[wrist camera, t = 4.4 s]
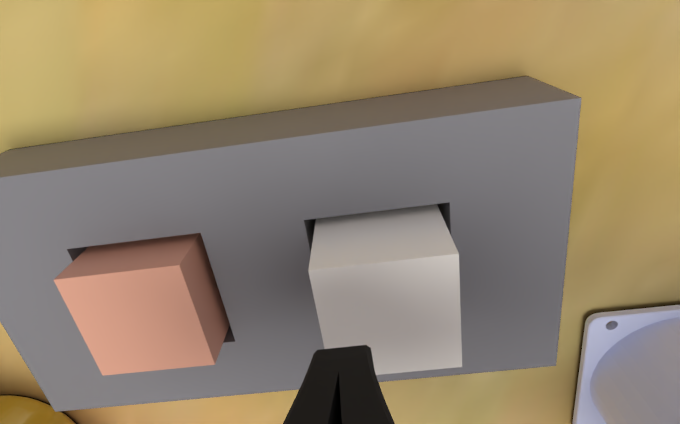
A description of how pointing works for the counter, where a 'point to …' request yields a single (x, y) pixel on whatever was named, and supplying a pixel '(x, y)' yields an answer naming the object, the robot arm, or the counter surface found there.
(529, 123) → the key panel
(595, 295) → the counter surface
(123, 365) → the terracotta key
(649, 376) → the robot arm
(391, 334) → the white key
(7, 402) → the plant pot
